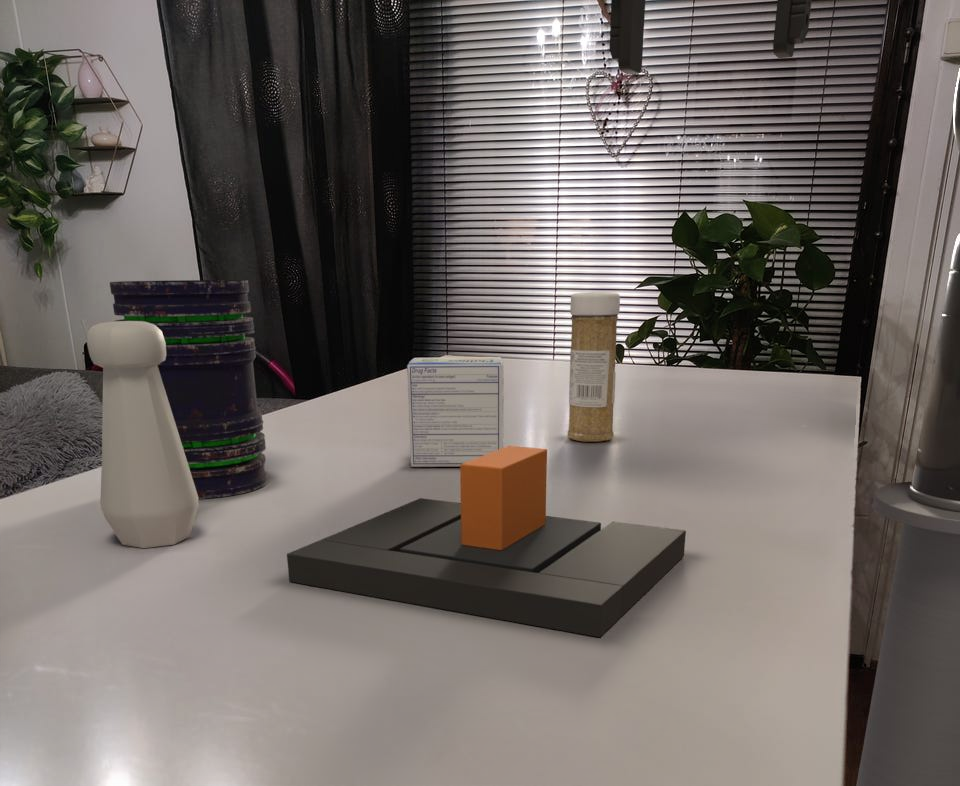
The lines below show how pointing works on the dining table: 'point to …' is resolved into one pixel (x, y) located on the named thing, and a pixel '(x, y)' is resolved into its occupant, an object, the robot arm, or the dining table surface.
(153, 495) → the salt shaker
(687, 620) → the dining table surface
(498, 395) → the medicine box
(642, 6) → the robot arm
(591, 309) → the sprinkles bottle
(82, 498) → the dining table surface
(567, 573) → the large u-shaped block
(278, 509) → the dining table surface
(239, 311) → the storage jar
